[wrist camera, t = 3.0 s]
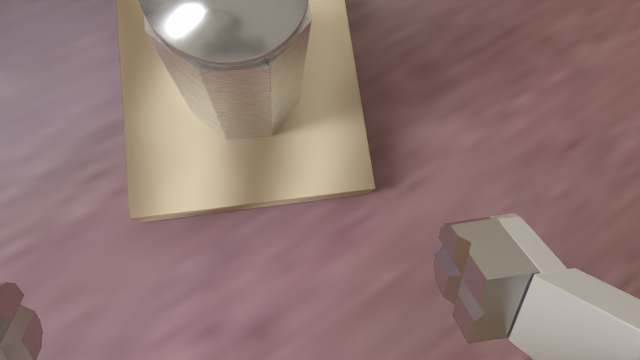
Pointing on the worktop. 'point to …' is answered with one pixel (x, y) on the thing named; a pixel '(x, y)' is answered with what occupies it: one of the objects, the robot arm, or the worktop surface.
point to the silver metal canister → (233, 59)
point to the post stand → (244, 154)
